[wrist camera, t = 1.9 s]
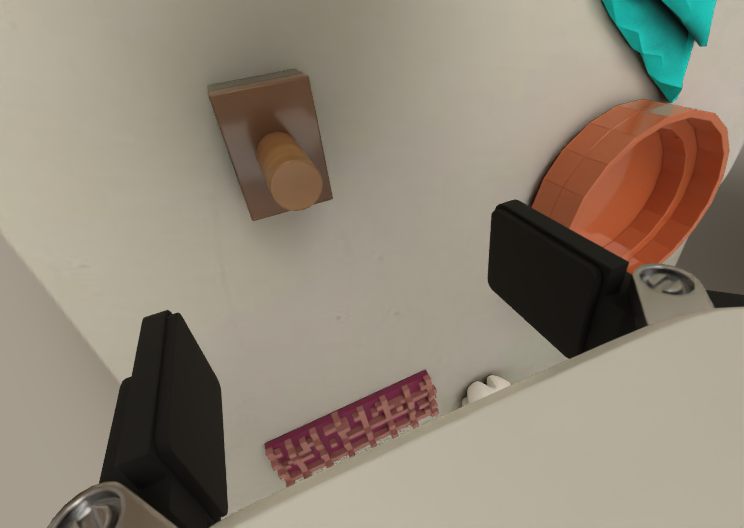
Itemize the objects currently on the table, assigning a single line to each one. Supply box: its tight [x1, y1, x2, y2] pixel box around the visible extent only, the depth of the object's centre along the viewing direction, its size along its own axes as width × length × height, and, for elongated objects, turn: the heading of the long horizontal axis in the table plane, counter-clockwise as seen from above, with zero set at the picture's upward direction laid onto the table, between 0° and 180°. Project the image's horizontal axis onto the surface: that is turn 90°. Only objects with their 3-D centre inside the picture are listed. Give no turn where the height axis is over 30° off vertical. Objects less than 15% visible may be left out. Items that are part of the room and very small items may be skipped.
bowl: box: [532, 99, 729, 274], centre depth 35 cm, size 17×17×5 cm
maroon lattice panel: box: [265, 370, 439, 487], centre depth 41 cm, size 7×19×2 cm, turn 102°
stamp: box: [208, 69, 333, 221], centre depth 20 cm, size 7×5×8 cm
